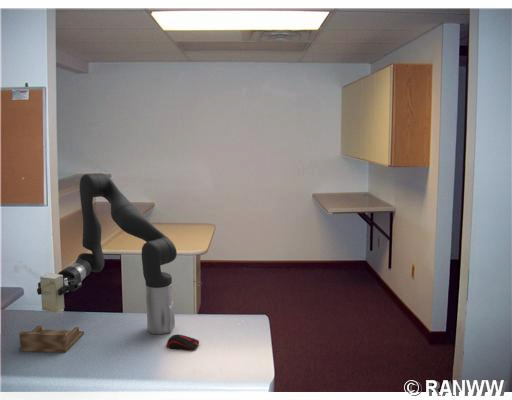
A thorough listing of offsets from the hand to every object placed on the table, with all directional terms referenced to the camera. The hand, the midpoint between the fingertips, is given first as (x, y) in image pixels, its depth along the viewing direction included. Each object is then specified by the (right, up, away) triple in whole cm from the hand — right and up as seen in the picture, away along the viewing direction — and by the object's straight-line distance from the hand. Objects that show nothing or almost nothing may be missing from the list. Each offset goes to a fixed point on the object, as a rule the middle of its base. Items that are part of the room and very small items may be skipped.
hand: (49, 292), depth 168 cm
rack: (0, -17, +3) cm, 18 cm away
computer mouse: (+45, -18, 0) cm, 49 cm away
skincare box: (0, -7, +4) cm, 8 cm away
